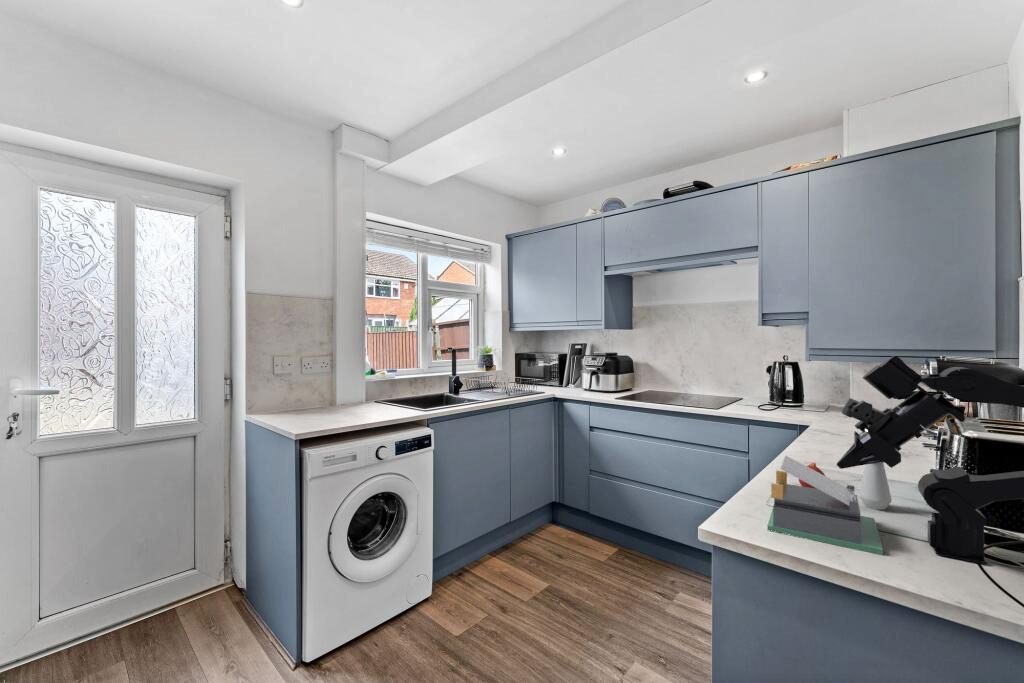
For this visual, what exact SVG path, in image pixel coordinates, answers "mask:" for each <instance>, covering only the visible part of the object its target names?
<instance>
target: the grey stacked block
mask: <svg viewBox="0 0 1024 683" xmlns="http://www.w3.org/2000/svg"><path fill="white" fill-rule="evenodd" d="M787 474H788V473H787V472H786V471H784V470H777V469H776V471H775V479H776V480H775V482H776V483H773V482H772V483H770V484H771V491H770V492H771V495H770V496H771V499H773V502H774V503H773V507H772V509H773V526H775V527H780V528H784V529H789V530H794V531H799V532H804V533H808V534H813V535H818V536H823V537H828V538H832V539H837V540H842V541H847V542H852V543H856V544H861V519H860V516H861V511H860V505H859V501H858V495H857V494H855V497H856V501H850V500H849V502H850V506H849V505H847V504H845V503H843V502H841V501H839V500H838V499H836V498H834V497H832V496H830V495H828V494H826V493H825V492H823V491H821V490H819V489H815V488H809V487H802V486H801V485H795V484H789V483H788V482H787V481H788V475H787ZM787 483H788V484H787ZM846 487H847V488H849V489H853V490H854V491H855V485H850V484H847V485H846Z"/></svg>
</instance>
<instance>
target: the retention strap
mask: <svg viewBox="0 0 1024 683" xmlns="http://www.w3.org/2000/svg"><path fill="white" fill-rule="evenodd" d="M807 466H808V465H805V464H803V463H801V462H800V461H797V460H795V459H794V458H791V457H790V456H787V455H785V456H784V458H783V461H782V463H781V466H780V470H781V471H784V472H787V474H790V475H791V476H792V477H795V478H797V479H798V480H799V479H800V480H802V481H804V482H806V483H808V484H810V485H812V486H813V487H815V488H817V489H819V490H821V491H823V492H825V493H826V494H828V495H830V496H832V497H834V498H836V499H838V500H839V501H841V502H843V503H845V504H847V505H849V506H850V502H849V500H850V501H856V497H855V495H856V492H855V489H854V490H853V489H849V488H847V486H846V485H844V484H841V483H840V482H837V481H836V480H833V479H831V477H828V476H827V475H825V476H824V475H822V474H820V473H818V472H816V471H815V470H813V469H811V468H809V467H807Z"/></svg>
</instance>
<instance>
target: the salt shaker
mask: <svg viewBox="0 0 1024 683" xmlns="http://www.w3.org/2000/svg"><path fill="white" fill-rule="evenodd" d="M859 488H860V489H859V493H858V494H859V498H860V499H861V501H862V503H863V505H864V506H865V507H866V508H868V507H869V509H873V510H875V509H877V510H876V511H885V510H887V508H888V507H889V505H890V504H891V503H892V500H893V499H892V496H891V491H890V486H889V482H888V477H887V473H886V470H885V462H883V463H882V462H879V463H873V464H866V465H865V466H864V469H863V475H862V478H861V484H860V487H859Z"/></svg>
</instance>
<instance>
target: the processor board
mask: <svg viewBox="0 0 1024 683" xmlns="http://www.w3.org/2000/svg"><path fill="white" fill-rule="evenodd" d="M771 510H772V511H771V513H770V516H769V520H768V523H767V531H768V530H772V531H771V532H773V531H776V532H775V533H777V532H781V533H780V534H782V533H786V534H785V535H787V534H790V535H789V536H791V535H794V536H793V537H796V536H798V537H797V538H801V537H802V538H801V539H805V538H807V539H806V540H810V539H811V540H812V541H815V540H816V542H819V541H820V543H825V544H828V543H829V544H830V545H834V546H840V547H843V548H847V549H852V550H856V551H862V552H866V553H871V554H876V555H879V556H880V555H881V556H883V555H884V548H883V544H882V542H881V539H880V534H879V531H878V527H877V523H876V520H875V518H874V517H870V516H865V515H860V519H861V544H856V543H852V542H847V541H842V540H837V539H832V538H828V537H823V536H818V535H813V534H808V533H804V532H799V531H794V530H789V529H784V528H780V527H775V526H773V508H772V509H771ZM829 544H828V545H829Z"/></svg>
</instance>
